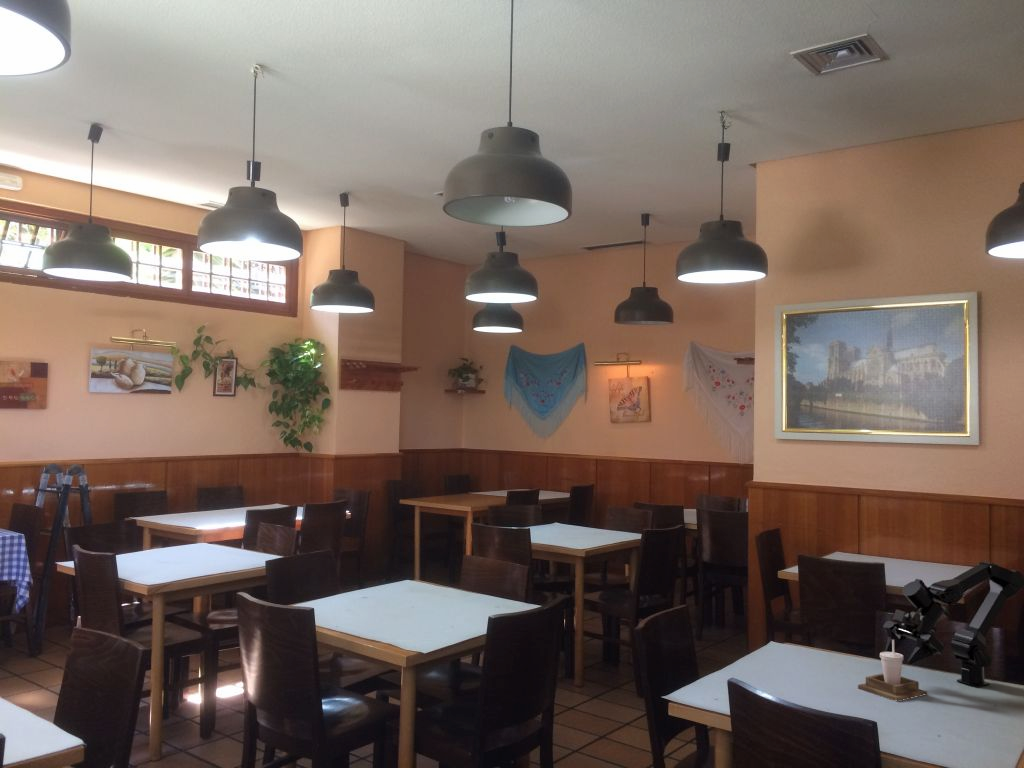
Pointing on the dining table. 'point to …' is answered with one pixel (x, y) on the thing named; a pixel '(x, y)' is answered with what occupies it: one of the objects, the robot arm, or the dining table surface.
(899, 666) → the smoothie
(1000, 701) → the dining table surface
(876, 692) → the bottle stand
